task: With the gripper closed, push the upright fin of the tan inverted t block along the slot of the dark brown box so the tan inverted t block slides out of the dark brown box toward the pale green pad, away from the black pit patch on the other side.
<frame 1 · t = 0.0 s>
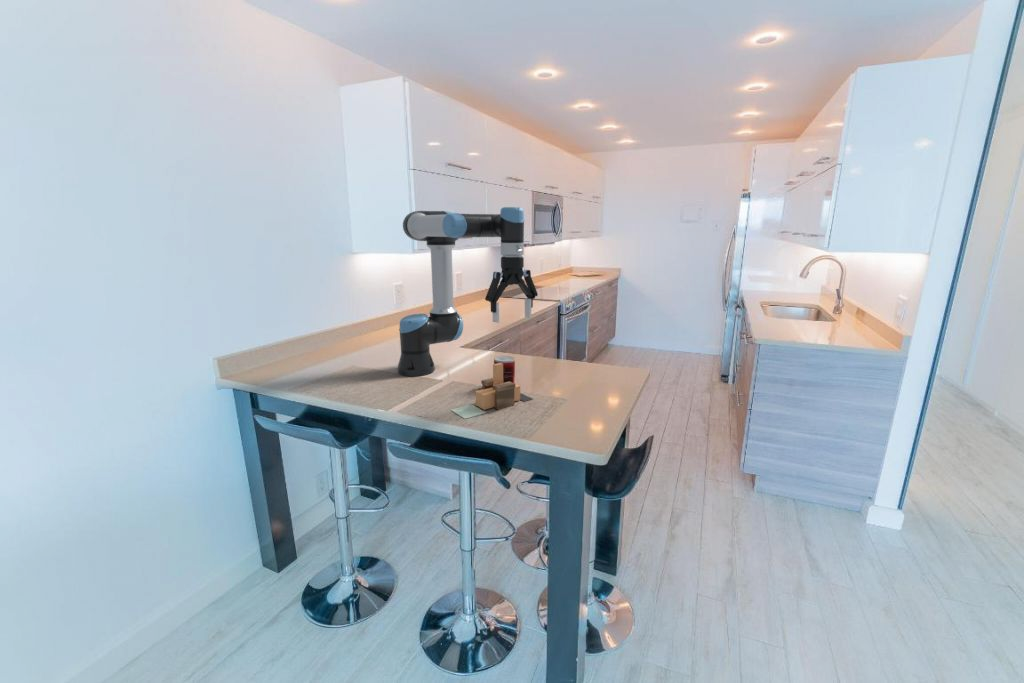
hand: (512, 319, 158), 28 cm above the counter, fingers open, 13 cm apart
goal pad: (468, 411, 152), on the counter
dark brown box: (498, 403, 159), on the counter
canned food: (504, 386, 176), on the counter
pit patch: (521, 397, 165), on the counter
tan inverted t block: (498, 383, 157), point 7 cm above the counter, slide at 0.0 cm
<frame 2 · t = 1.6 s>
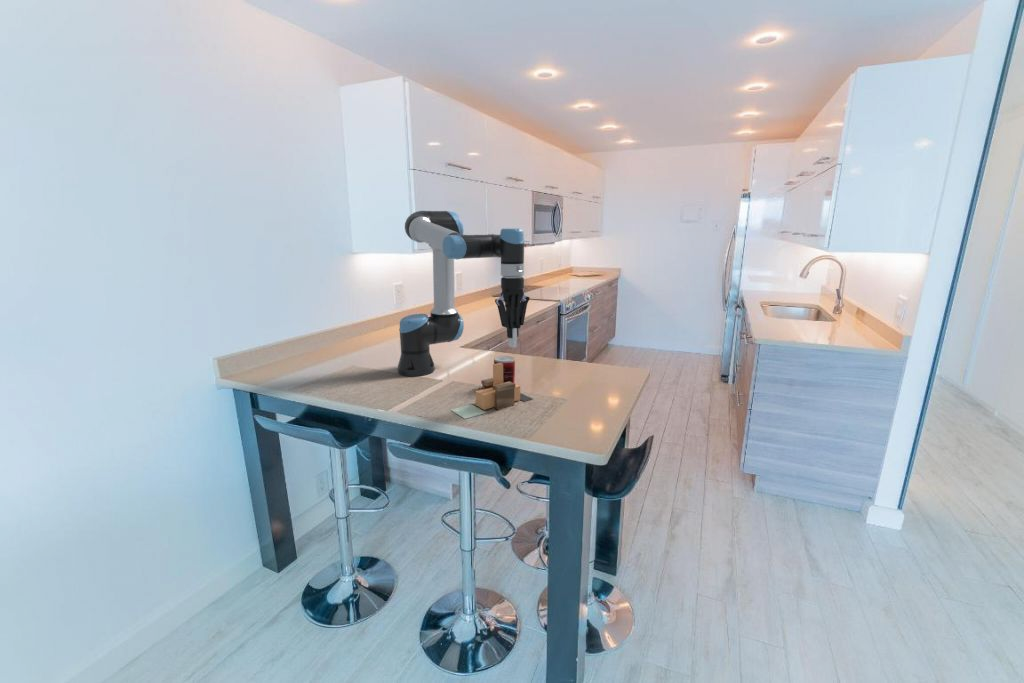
hand: (512, 346, 158), 19 cm above the counter, fingers closed
nothing on the counter moved.
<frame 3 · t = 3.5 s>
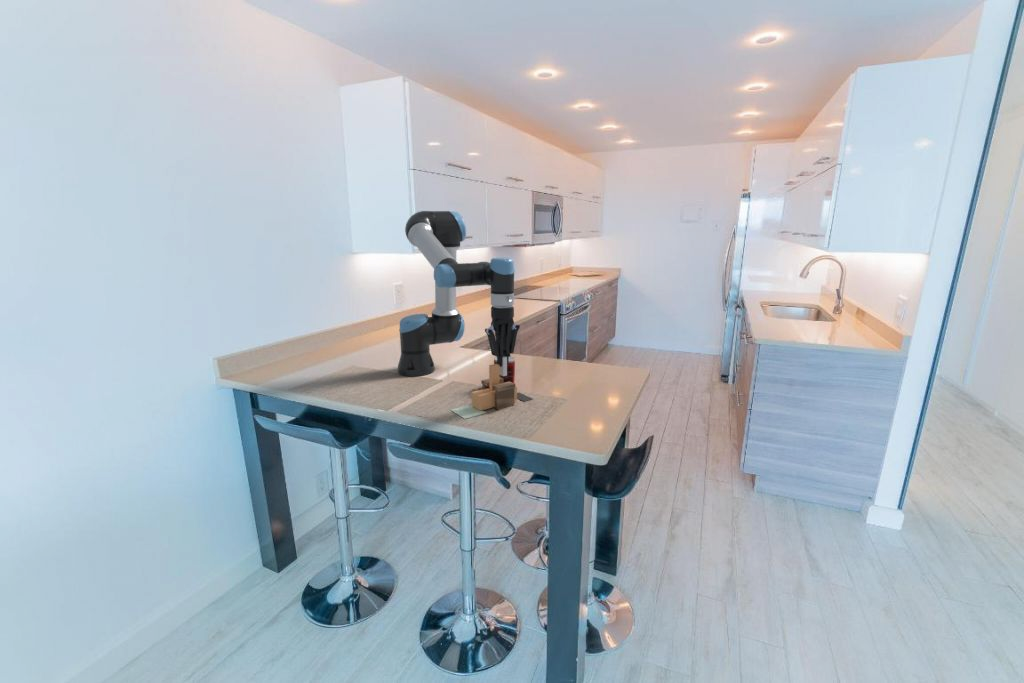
hand: (502, 374, 158), 10 cm above the counter, fingers closed
tan inverted t block: (494, 384, 156), point 7 cm above the counter, slide at 1.6 cm, touching gripper
everything else where it was.
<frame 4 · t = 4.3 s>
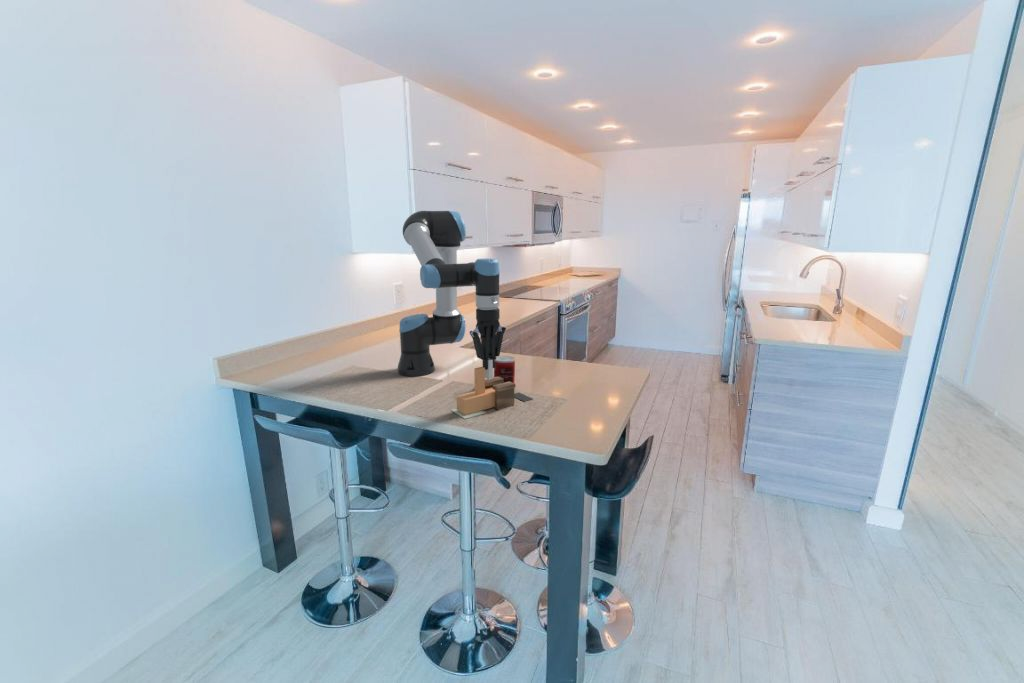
hand: (488, 378, 154), 10 cm above the counter, fingers closed
tan inverted t block: (479, 387, 153), point 7 cm above the counter, slide at 7.4 cm, touching gripper
everything else where it was.
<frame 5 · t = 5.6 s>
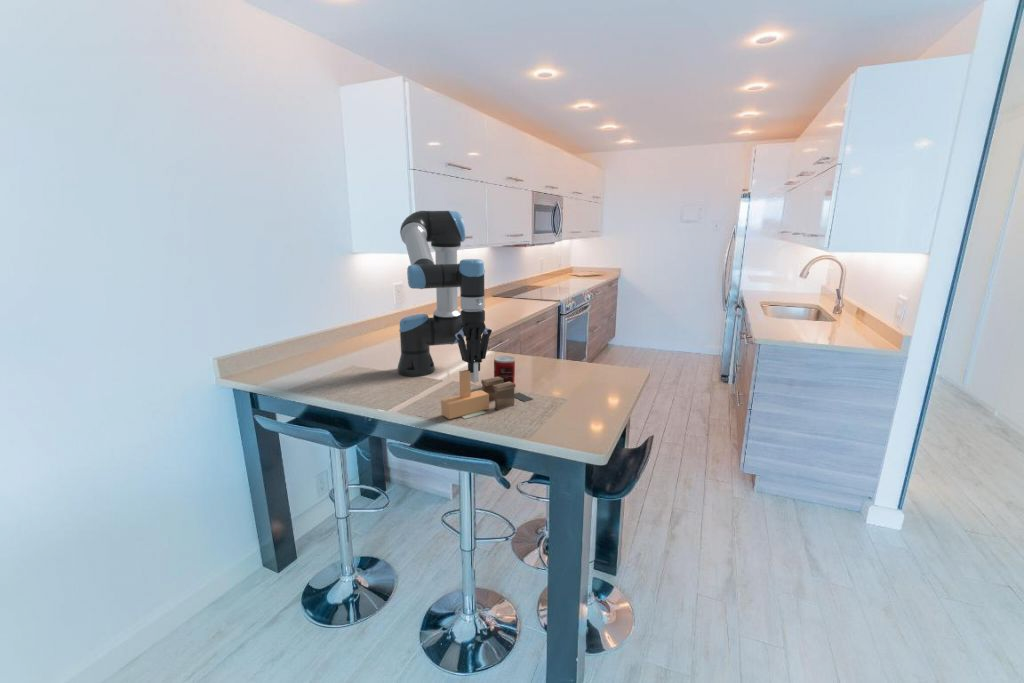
hand: (474, 381, 151), 10 cm above the counter, fingers closed
tan inverted t block: (465, 391, 150), point 7 cm above the counter, slide at 13.0 cm, touching gripper
everything else where it was.
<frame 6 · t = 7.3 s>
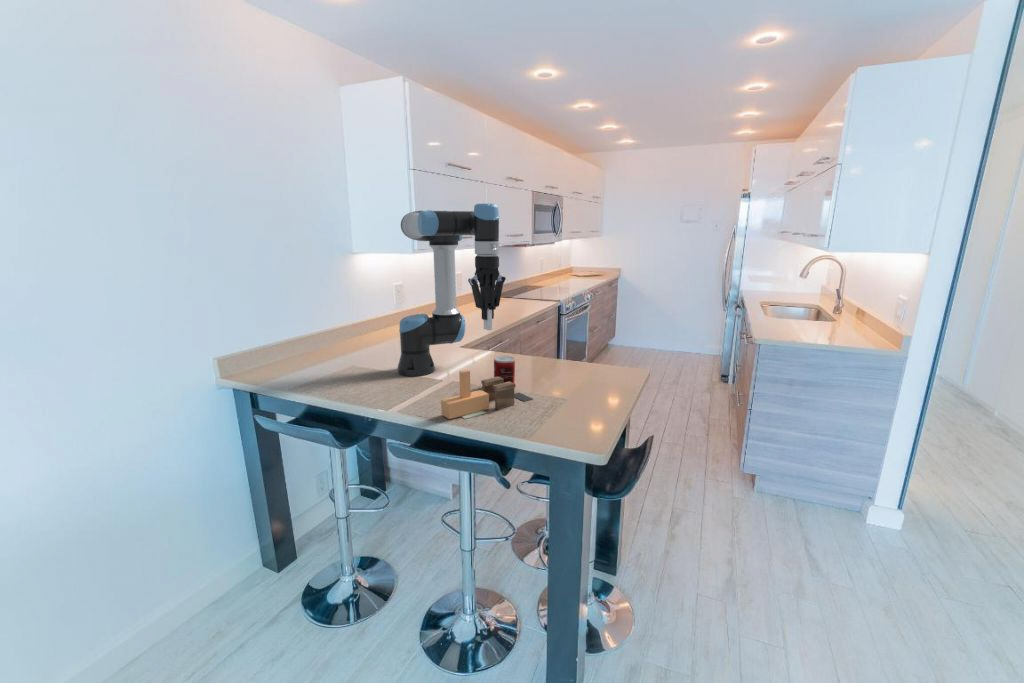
hand: (487, 329, 151), 26 cm above the counter, fingers closed
tan inverted t block: (465, 391, 150), point 7 cm above the counter, slide at 13.0 cm
everything else where it was.
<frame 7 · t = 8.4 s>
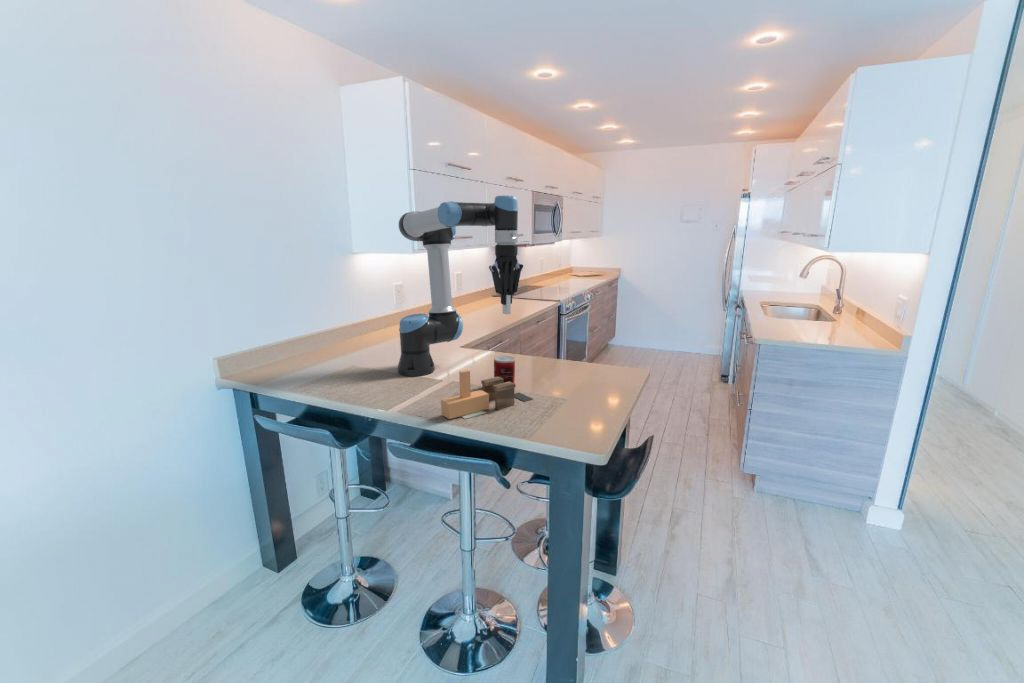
hand: (506, 313, 161), 29 cm above the counter, fingers closed
nothing on the counter moved.
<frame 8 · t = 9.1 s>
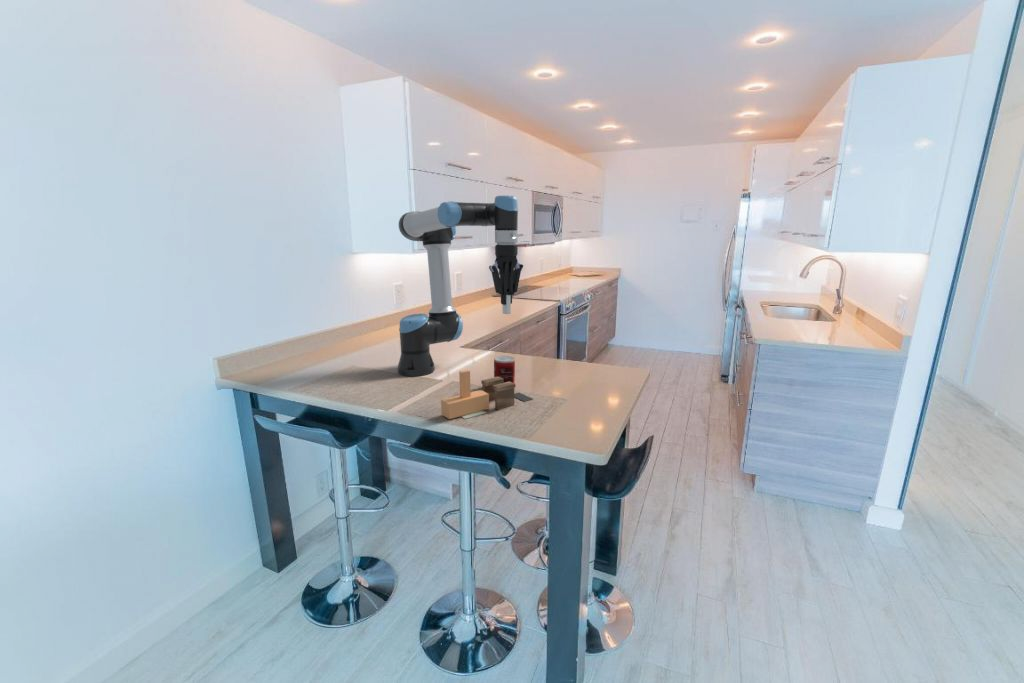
hand: (506, 313, 161), 29 cm above the counter, fingers closed
nothing on the counter moved.
at the end: tan inverted t block slide at 13.0 cm; tan inverted t block 1.0 cm from the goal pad (horizontally) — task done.
